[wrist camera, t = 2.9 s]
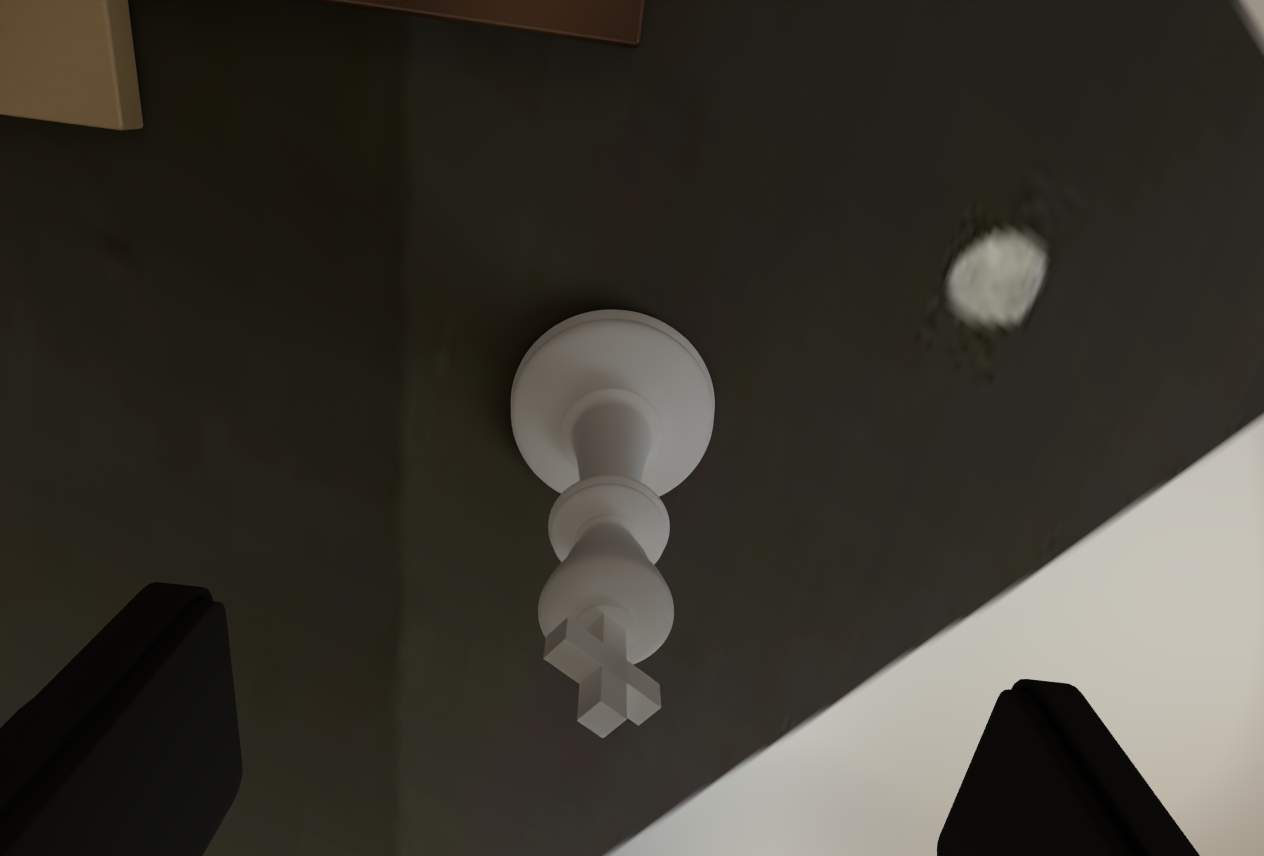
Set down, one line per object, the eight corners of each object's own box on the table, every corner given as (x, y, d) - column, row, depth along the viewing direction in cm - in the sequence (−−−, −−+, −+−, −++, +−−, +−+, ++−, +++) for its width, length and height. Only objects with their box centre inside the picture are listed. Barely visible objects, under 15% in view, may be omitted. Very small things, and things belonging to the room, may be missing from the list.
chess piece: (606, 264, 17) (587, 467, 8) (756, 403, 18) (884, 711, 9) (469, 412, 19) (319, 728, 9) (617, 530, 20) (612, 906, 11)
